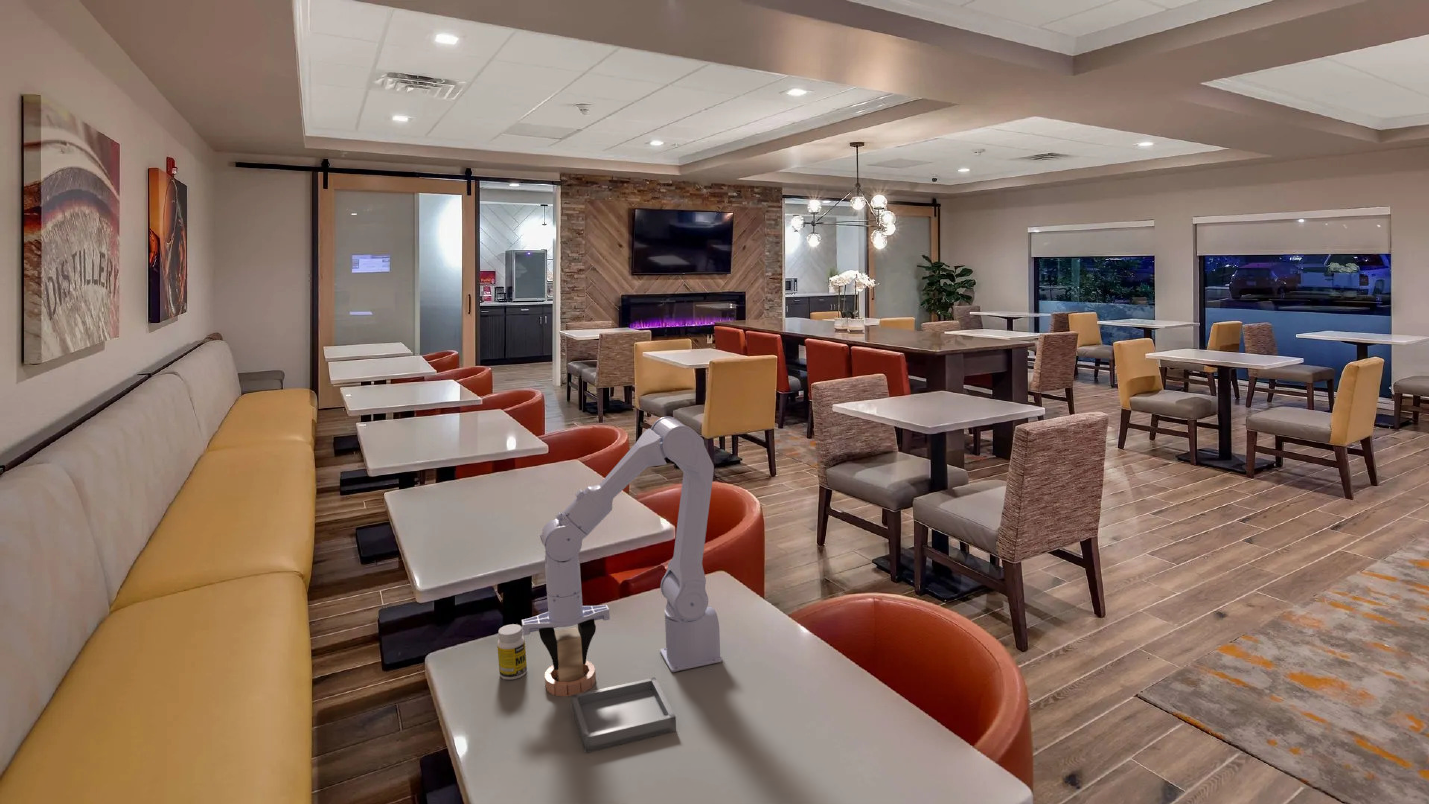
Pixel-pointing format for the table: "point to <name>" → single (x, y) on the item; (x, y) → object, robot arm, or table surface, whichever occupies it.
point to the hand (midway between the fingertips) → (569, 664)
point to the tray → (622, 714)
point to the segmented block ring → (573, 686)
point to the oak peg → (569, 655)
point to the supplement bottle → (511, 652)
